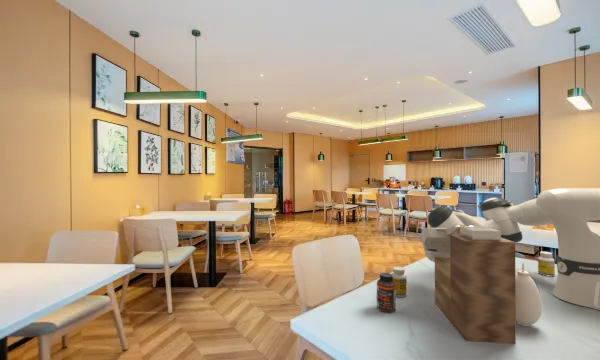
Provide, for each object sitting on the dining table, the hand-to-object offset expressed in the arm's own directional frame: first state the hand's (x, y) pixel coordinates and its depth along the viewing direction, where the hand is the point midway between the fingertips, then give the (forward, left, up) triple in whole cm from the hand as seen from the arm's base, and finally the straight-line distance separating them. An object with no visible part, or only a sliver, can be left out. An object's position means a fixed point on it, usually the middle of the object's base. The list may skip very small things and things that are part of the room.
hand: (464, 227), depth 83 cm
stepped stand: (0, +3, -27) cm, 27 cm away
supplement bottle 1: (+23, -3, -27) cm, 36 cm away
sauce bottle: (-15, +3, -27) cm, 31 cm away
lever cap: (0, +4, -1) cm, 4 cm away
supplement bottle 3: (-54, -43, -27) cm, 74 cm away
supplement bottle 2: (+16, -15, -27) cm, 35 cm away
